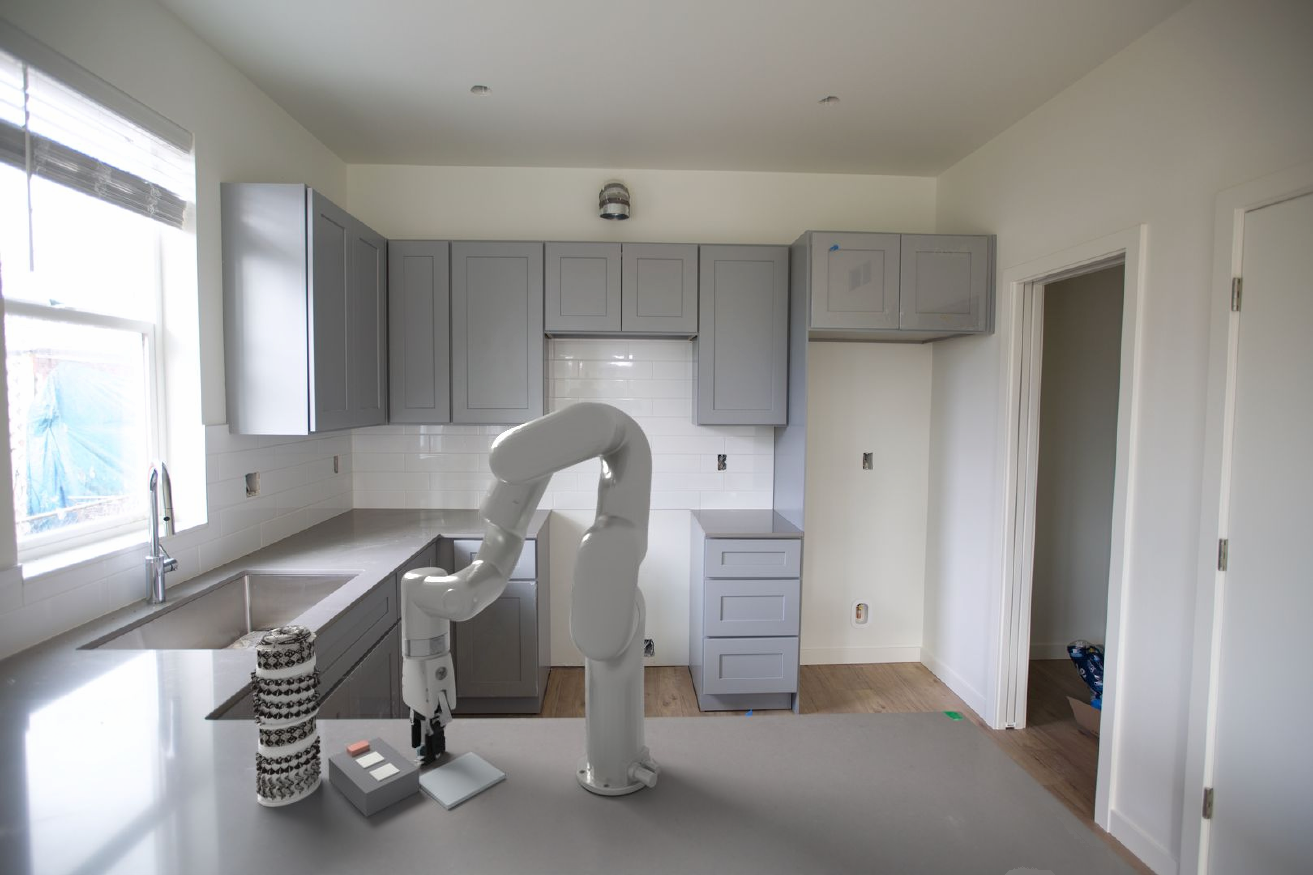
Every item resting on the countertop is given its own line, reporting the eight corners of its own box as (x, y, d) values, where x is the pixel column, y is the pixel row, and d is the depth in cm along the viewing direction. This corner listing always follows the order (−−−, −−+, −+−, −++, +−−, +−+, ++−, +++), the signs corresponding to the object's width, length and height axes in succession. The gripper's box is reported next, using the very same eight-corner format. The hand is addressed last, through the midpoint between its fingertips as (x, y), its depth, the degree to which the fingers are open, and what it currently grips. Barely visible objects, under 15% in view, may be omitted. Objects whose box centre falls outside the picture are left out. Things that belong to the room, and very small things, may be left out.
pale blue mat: (505, 777, 93) (505, 774, 93) (447, 809, 86) (447, 805, 86) (471, 754, 100) (471, 751, 100) (414, 782, 92) (414, 778, 92)
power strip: (420, 789, 90) (420, 762, 90) (366, 817, 84) (365, 788, 84) (380, 756, 100) (380, 731, 99) (328, 779, 93) (328, 752, 93)
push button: (428, 773, 95) (427, 712, 95) (401, 767, 96) (400, 708, 96) (453, 750, 101) (453, 694, 101) (428, 746, 103) (427, 690, 102)
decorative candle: (239, 800, 88) (234, 637, 88) (296, 766, 97) (292, 617, 96) (281, 814, 85) (276, 645, 84) (336, 778, 94) (333, 624, 93)
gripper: (473, 648, 96) (474, 757, 96) (422, 625, 107) (424, 724, 107) (430, 662, 90) (432, 779, 91) (381, 637, 101) (383, 741, 101)
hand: (427, 748), depth 99 cm, fingers closed on push button, 3 cm apart
